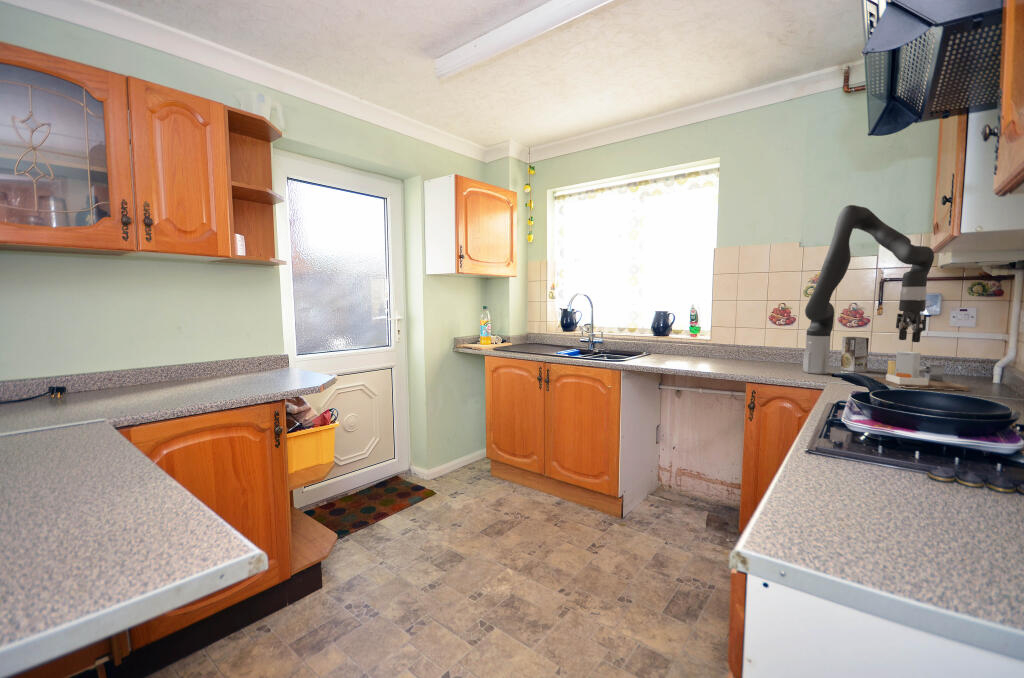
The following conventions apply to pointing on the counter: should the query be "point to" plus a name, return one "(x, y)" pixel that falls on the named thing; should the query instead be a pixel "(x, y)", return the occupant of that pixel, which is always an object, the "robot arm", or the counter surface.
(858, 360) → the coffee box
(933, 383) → the base plate
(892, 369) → the shaft
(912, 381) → the sleeve
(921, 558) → the counter surface
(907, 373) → the skincare box
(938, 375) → the bearing block
